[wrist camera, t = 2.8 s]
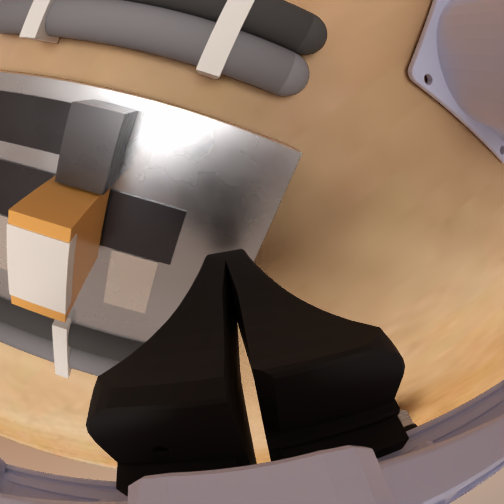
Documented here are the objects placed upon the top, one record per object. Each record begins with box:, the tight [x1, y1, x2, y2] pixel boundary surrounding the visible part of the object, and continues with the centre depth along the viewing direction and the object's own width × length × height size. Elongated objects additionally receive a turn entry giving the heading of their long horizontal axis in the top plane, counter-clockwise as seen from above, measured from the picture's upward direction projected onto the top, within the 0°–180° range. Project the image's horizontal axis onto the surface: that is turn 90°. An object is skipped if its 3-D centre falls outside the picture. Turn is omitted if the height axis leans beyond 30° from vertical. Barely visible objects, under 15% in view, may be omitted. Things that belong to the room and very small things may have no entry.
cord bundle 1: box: [0, 297, 144, 378], centre depth 14 cm, size 14×4×2 cm, turn 68°
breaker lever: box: [7, 175, 111, 322], centre depth 9 cm, size 2×3×4 cm, turn 158°
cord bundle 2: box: [0, 0, 327, 96], centre depth 8 cm, size 14×4×2 cm, turn 68°
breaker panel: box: [0, 70, 302, 343], centre depth 11 cm, size 15×11×3 cm
